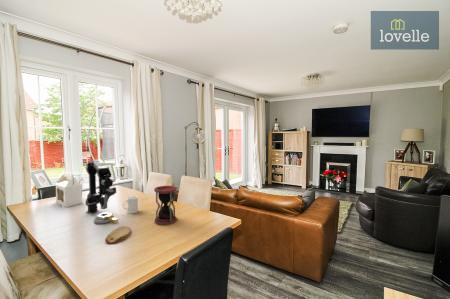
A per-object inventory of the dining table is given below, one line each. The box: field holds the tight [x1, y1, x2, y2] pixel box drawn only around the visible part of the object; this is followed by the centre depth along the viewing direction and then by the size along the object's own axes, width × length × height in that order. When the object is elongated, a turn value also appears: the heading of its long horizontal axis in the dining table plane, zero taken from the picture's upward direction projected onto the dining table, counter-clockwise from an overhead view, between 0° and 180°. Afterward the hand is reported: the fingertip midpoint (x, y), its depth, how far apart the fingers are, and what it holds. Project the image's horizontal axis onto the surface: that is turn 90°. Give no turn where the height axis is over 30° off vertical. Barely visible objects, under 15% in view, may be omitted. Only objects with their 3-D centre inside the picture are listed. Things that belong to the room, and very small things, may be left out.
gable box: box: [55, 171, 83, 208], centre depth 199 cm, size 22×13×28 cm, turn 55°
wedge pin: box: [100, 195, 108, 210], centre depth 160 cm, size 4×4×9 cm
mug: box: [122, 195, 139, 214], centre depth 179 cm, size 12×8×12 cm
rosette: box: [93, 212, 119, 225], centre depth 160 cm, size 18×13×4 cm
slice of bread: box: [104, 225, 132, 246], centre depth 137 cm, size 18×18×4 cm
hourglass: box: [154, 185, 178, 226], centre depth 161 cm, size 16×16×25 cm
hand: (103, 205), depth 160 cm, fingers closed on wedge pin, 3 cm apart
